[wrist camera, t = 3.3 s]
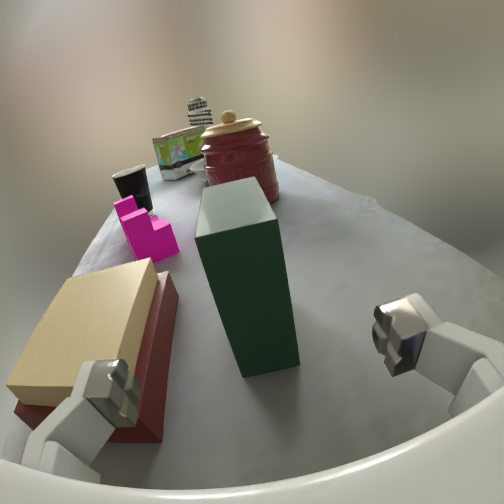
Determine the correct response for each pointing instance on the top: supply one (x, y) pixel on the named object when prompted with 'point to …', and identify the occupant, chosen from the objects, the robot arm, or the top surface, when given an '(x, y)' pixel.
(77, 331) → the book stack
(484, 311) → the top surface
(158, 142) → the tea box
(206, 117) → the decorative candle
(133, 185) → the dixie cup
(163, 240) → the toy block
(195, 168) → the dish
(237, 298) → the book
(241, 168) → the kitchen canister
